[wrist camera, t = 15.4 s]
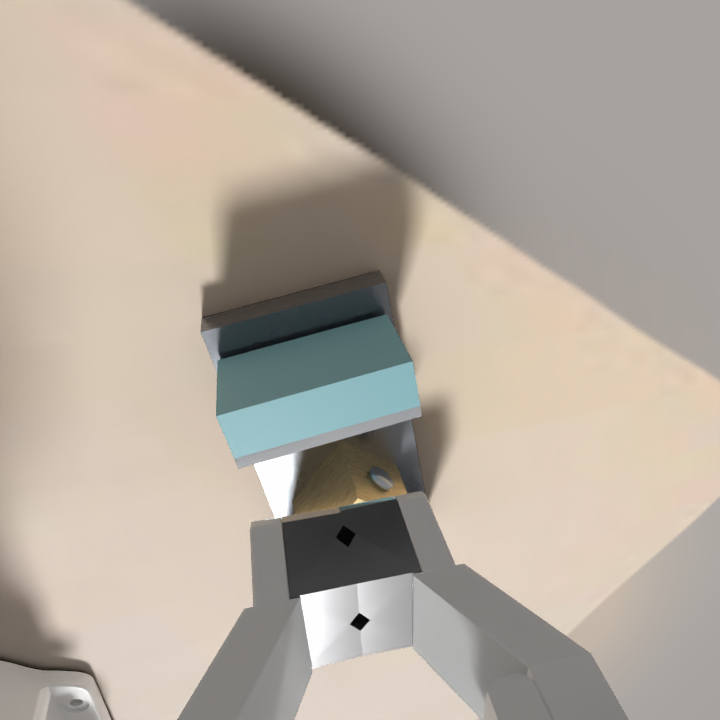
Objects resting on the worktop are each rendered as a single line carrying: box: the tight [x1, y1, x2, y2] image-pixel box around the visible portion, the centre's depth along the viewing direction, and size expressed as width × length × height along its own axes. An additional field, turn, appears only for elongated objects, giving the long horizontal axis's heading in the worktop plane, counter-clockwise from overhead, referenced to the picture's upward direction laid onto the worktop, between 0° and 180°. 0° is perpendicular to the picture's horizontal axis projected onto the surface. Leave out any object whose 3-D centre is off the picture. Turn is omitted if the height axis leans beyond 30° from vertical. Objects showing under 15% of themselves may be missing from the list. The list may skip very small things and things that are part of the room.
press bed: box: [201, 271, 425, 519], centre depth 30 cm, size 18×9×6 cm, turn 11°
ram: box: [216, 314, 422, 469], centre depth 26 cm, size 3×8×4 cm, turn 101°
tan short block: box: [292, 441, 407, 515], centre depth 31 cm, size 5×4×4 cm
